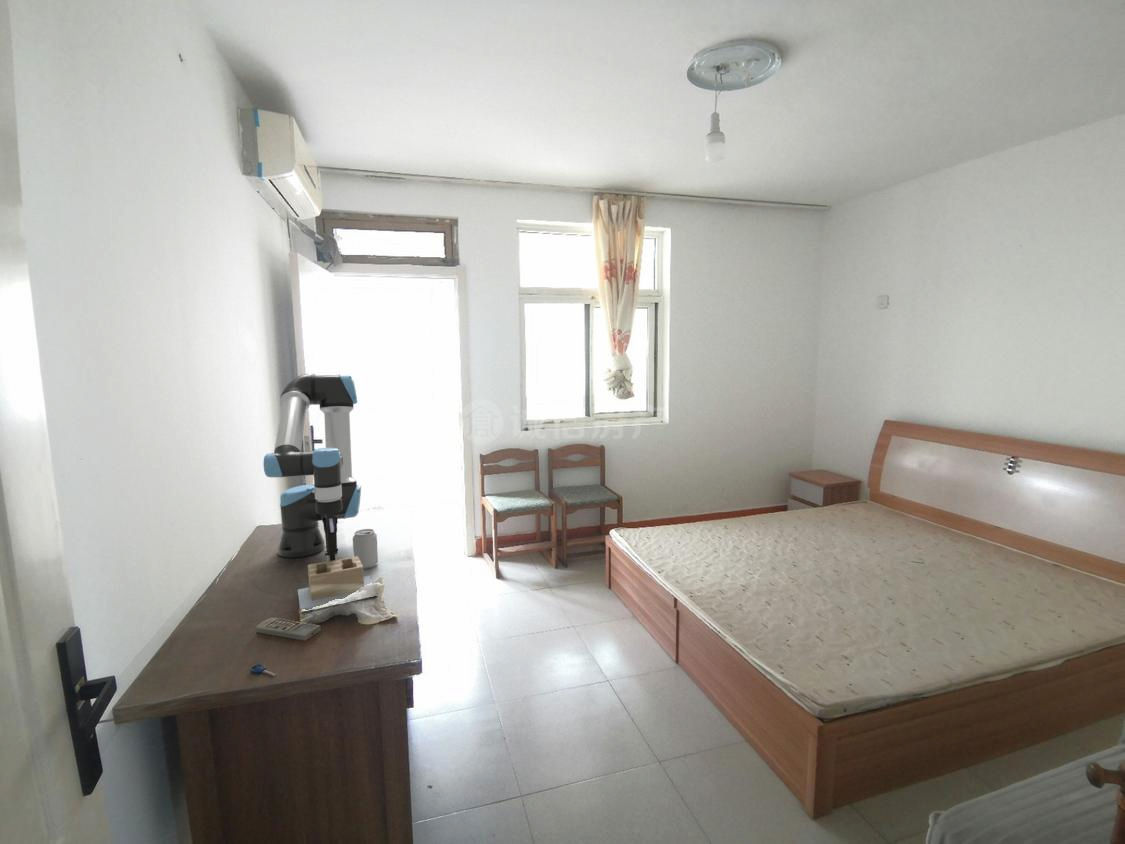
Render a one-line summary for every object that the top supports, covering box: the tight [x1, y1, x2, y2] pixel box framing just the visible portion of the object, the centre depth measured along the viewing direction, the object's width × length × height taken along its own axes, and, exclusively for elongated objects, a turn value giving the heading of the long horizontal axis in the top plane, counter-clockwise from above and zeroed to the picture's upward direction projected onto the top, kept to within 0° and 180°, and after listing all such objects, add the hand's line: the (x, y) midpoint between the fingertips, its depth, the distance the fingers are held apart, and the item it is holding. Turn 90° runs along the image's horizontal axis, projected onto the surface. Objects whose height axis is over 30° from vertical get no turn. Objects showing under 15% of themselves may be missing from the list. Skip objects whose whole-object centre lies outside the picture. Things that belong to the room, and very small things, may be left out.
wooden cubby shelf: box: [307, 556, 365, 600], centre depth 153 cm, size 10×14×7 cm
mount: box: [297, 575, 373, 613], centre depth 152 cm, size 14×20×4 cm
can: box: [352, 528, 379, 570], centre depth 173 cm, size 8×8×12 cm
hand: (332, 573), depth 160 cm, fingers closed
